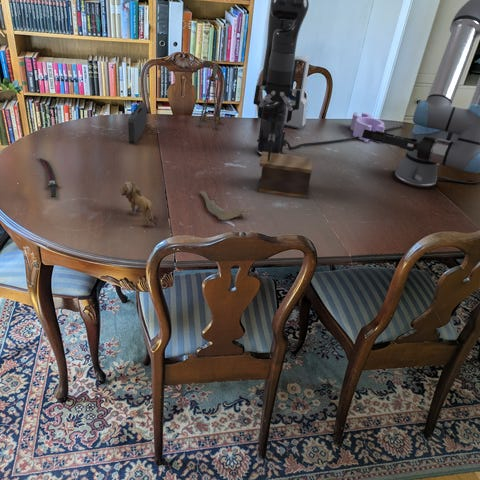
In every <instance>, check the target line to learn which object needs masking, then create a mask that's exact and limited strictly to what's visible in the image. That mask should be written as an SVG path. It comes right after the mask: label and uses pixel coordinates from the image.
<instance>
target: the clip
mask: <svg viewBox="0 0 480 480" xmlns="http://www.w3.org/2000/svg"><path fill="white" fill-rule="evenodd" d="M358 114H359V113H358V112H353V114H352V118H351V122H350V126H349V129H350V130H351V131H353V132H352V136H353V137H359V138H358V139H357V140H361V141H363V142H364V143H368V142H369V140H370V139H366V138H362V135H363V132H364V129H366V130H370V131H374V132H375V131H380V132H384V130H386V127H385V122H384V121H383V120H380V119H377V118H374V117H372V115H371V114H369V113H366V112H361V115H358ZM375 142H376V143H381V142H378V141H375ZM381 144H382V143H381Z"/></svg>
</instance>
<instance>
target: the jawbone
mask: <svg viewBox="0 0 480 480" xmlns="http://www.w3.org/2000/svg"><path fill="white" fill-rule="evenodd" d="M199 193H200V195H201V196H202V197H203V200H204V201H205V206H206V209H207V210H208V212H209V213H210V214H212V215H213V216H215V217H216V218H217V219H218V220H219V221H223V222H226V221H229V220H231V219H233V218H237V217H238V218H239V219H242V218H244V213H246V214H249V213H251V211H250V210H249V209H247V208H237V209H234V210H229V211H228V210H223V208H221V207H219V206H218V205H217V204H216V202H215V200H213V199H212V200H211V199H210V197H209V196H208V194H207V193H206V191H205V190H200V191H199Z"/></svg>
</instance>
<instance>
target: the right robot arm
mask: <svg viewBox="0 0 480 480" xmlns="http://www.w3.org/2000/svg"><path fill="white" fill-rule="evenodd" d="M449 26H450V27H449V32H450V36H449V39H448V41H447V44H446V47H445V49H444V52H443V54H442V57H441V60H440V63H439V66H438V68H437V70H436V74H435V76H434V79H433V82H432V84H431V87H430V89H429V92H428V94H427V97H426V99H424V100H423V99H420V100H419V101H417V102H418V103H417V105H416V107H415V109H414V112H413V116H412V122H413V124H414V127H413V128H412V130H411V136H410V137H403V136H401V135H395V134H392V133H388V132H387V131H386V132H380V131H375V132H374V131H370V130H366V129H364V132H363V135H362V138H366V139H369V140H370V141H374V142H376V141H378V142H377V143H379V142H381V144H386V145H391V146H395V147H398V148H400V149H403V150H406V152H405V154H404V155H405V156H404V157H403V159H402V161H400V163H399V165H398V166H397V168H396V169H395V171H394V172H395V173H394V178H395V179H396V180H397V181H399V182H400V183H402V184H403V185H406V186H410V187H414V188H418V189H430V188H433V187H435V186H436V185H437V181H438V179H439V180H445V181H447V182H448V181H449V182H453V183H460V184H467V185H468V184H469V185H470V184H471V185H473V184H474V185H475V184H480V181H479V182H465V181H466V180H463V181H462V179H455V178H450V177H446V176H441V175H438V166H439V167H440V165H443V166H446V167H448V168H452V169H455V170H460V171H463V172H468V173H472V174H479V173H480V77H479V79H478V81H477V84H476V87H475V90H474V92H473V95H472V98H471V100H470V104H469V106H468V108H462V107H456V106H452V105H453V101H454V99H455V96H456V93H457V91H458V89H459V86H460V82H461V80H462V77H463V74H464V71H465V69H466V66H467V63H468V60H469V58H470V55H471V52H472V49H473V47H474V44H475V41H476V39H477V38H478V37H480V0H468V1H466V2H465V3H464V5H462V6H461V7H460V8H459V10H458V11H457V12H456V13H455V15H454V17H453V18H452V21H451V24H450V25H449ZM459 180H461V181H459Z"/></svg>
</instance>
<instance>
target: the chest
mask: <svg viewBox="0 0 480 480" xmlns="http://www.w3.org/2000/svg"><path fill="white" fill-rule="evenodd" d="M311 176H312V172H311V173H305V172H298V171H290V170H283V169H275V168H268V167H261V173H260V183H259V190H258V192H259V193H266V194H273V195H280V196H289V197H297V198H304V199H307V197H308V193H309V187H310V182H311Z"/></svg>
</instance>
